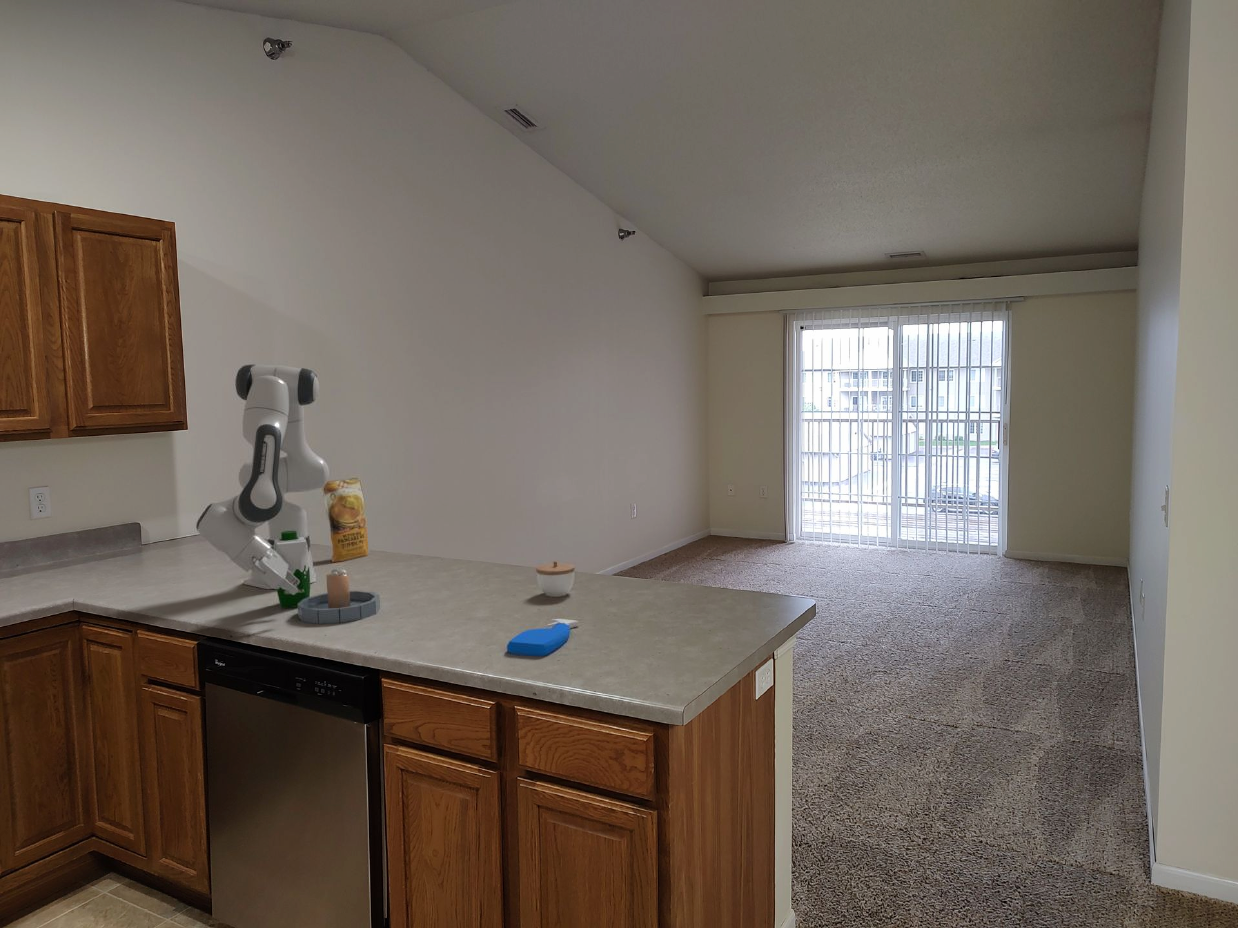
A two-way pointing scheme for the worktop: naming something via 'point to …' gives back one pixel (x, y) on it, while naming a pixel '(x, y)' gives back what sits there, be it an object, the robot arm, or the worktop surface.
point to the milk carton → (294, 567)
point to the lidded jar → (555, 578)
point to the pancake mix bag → (346, 518)
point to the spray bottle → (542, 638)
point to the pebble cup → (338, 589)
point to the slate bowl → (319, 612)
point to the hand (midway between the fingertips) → (297, 588)
